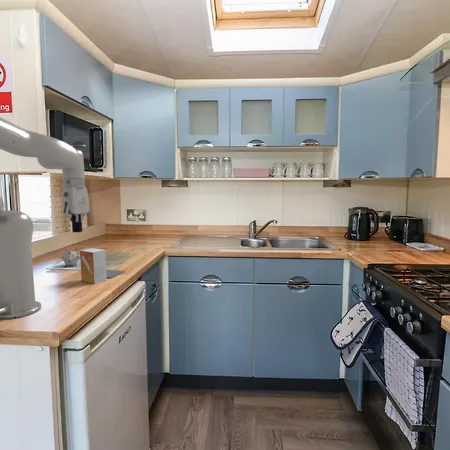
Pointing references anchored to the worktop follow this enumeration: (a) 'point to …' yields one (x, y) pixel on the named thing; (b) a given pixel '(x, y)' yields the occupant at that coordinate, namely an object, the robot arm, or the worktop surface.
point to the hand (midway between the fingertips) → (77, 231)
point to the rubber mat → (113, 273)
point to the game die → (70, 258)
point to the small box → (93, 265)
